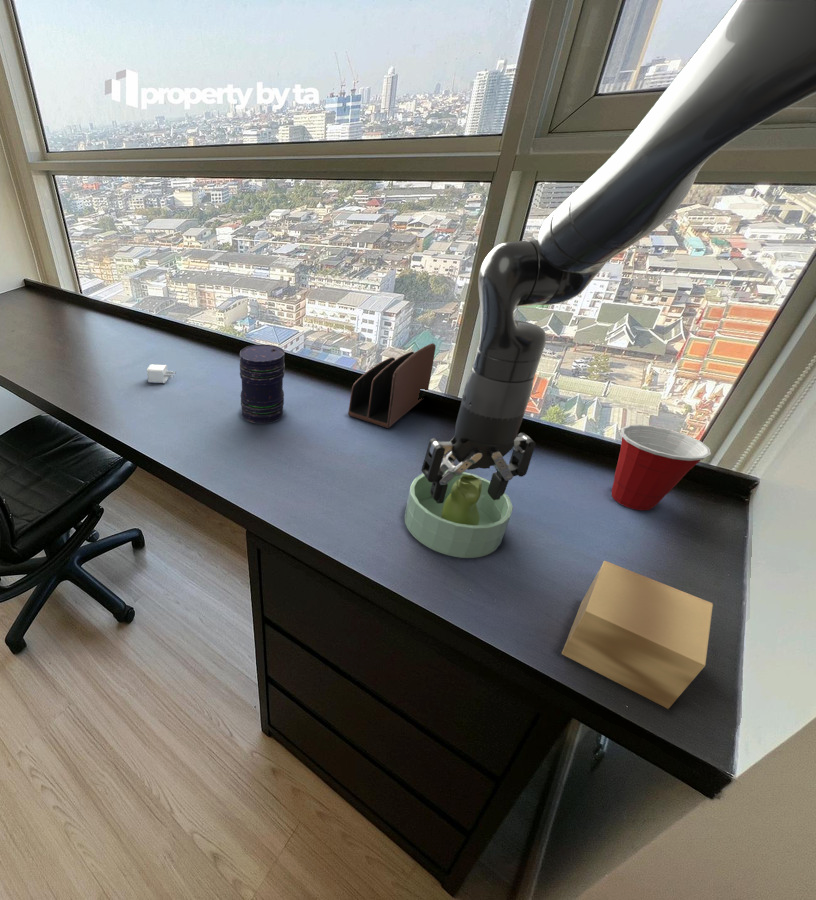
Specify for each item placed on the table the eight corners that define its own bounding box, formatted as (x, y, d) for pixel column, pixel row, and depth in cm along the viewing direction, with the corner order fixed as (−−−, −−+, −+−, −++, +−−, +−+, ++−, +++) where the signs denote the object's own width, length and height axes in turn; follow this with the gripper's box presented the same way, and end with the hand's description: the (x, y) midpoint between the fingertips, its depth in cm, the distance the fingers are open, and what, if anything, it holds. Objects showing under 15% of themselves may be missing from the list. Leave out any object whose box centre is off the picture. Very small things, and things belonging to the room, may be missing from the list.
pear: (440, 514, 79) (453, 464, 73) (476, 523, 76) (492, 472, 71) (435, 535, 75) (449, 484, 69) (473, 546, 72) (490, 494, 67)
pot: (523, 542, 73) (535, 512, 70) (446, 569, 70) (455, 538, 66) (455, 489, 84) (463, 462, 81) (386, 510, 81) (391, 481, 78)
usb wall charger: (153, 377, 132) (151, 363, 130) (177, 378, 131) (175, 364, 129) (148, 383, 129) (146, 369, 127) (173, 384, 128) (171, 370, 125)
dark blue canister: (253, 427, 106) (252, 365, 98) (233, 409, 114) (231, 349, 106) (291, 416, 109) (293, 355, 101) (270, 399, 117) (270, 341, 109)
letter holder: (427, 396, 114) (439, 339, 107) (388, 429, 102) (398, 368, 95) (388, 385, 120) (396, 330, 112) (347, 415, 108) (353, 357, 101)
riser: (679, 647, 58) (713, 603, 53) (668, 709, 52) (705, 665, 47) (581, 603, 64) (604, 560, 59) (561, 654, 58) (585, 610, 53)
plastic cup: (682, 499, 79) (719, 437, 73) (665, 530, 74) (704, 466, 67) (604, 472, 86) (632, 413, 80) (583, 499, 81) (612, 438, 74)
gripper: (452, 420, 60) (428, 518, 69) (565, 412, 60) (526, 511, 69) (428, 393, 66) (408, 486, 75) (530, 386, 66) (499, 480, 75)
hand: (465, 498), depth 72 cm, fingers open, 8 cm apart
